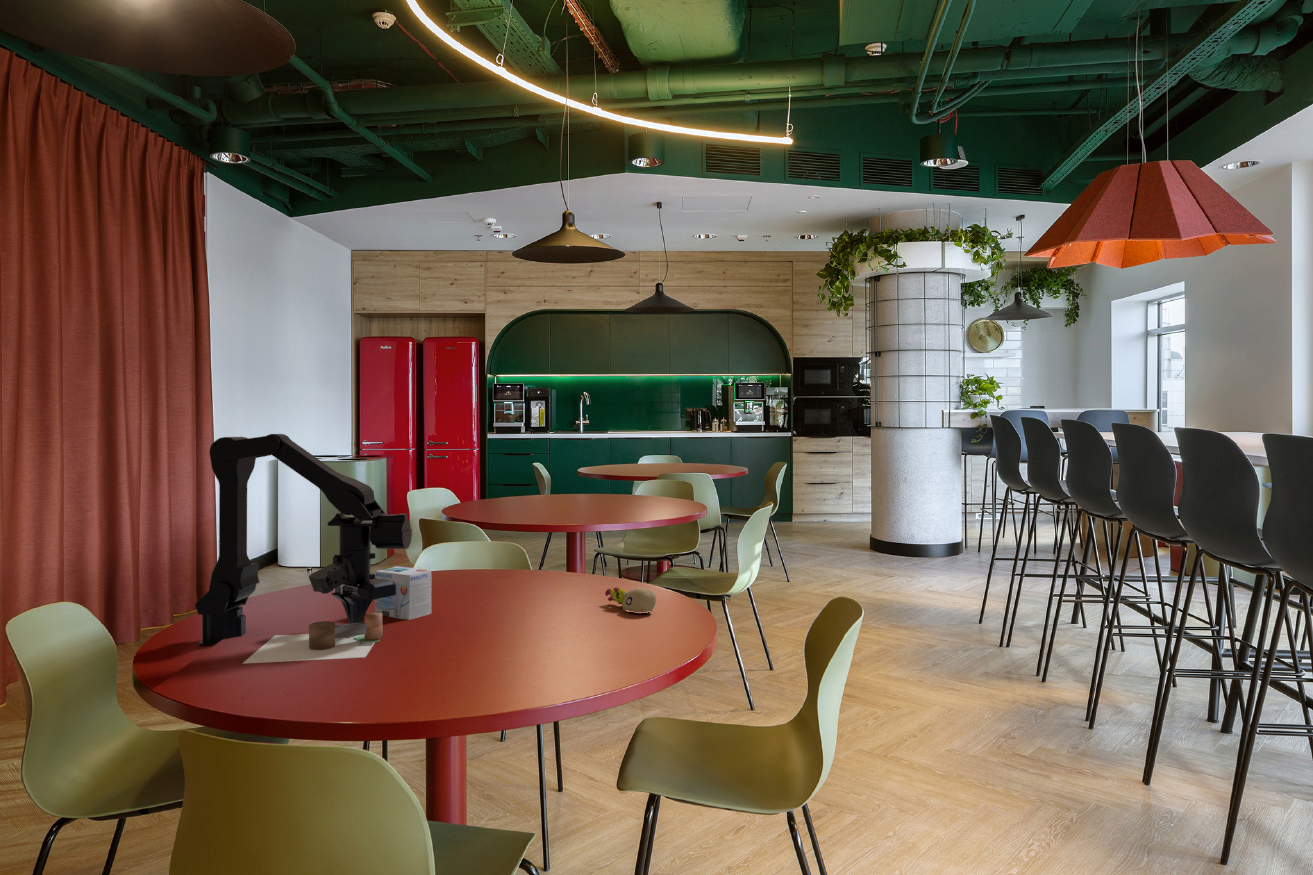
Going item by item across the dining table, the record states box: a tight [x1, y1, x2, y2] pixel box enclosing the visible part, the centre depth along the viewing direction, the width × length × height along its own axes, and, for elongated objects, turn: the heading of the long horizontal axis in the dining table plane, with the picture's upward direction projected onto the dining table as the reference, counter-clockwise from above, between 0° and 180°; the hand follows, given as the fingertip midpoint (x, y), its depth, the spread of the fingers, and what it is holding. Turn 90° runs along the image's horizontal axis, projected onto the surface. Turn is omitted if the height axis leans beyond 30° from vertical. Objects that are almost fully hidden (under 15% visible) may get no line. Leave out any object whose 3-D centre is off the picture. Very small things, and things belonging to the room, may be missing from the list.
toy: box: [604, 586, 657, 612], centre depth 176 cm, size 6×7×15 cm
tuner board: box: [242, 633, 381, 664], centre depth 142 cm, size 21×18×1 cm
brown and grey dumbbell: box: [308, 612, 383, 649], centre depth 143 cm, size 13×4×5 cm, turn 120°
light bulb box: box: [374, 566, 433, 621], centre depth 167 cm, size 11×7×11 cm, turn 62°
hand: (354, 628), depth 149 cm, fingers closed
